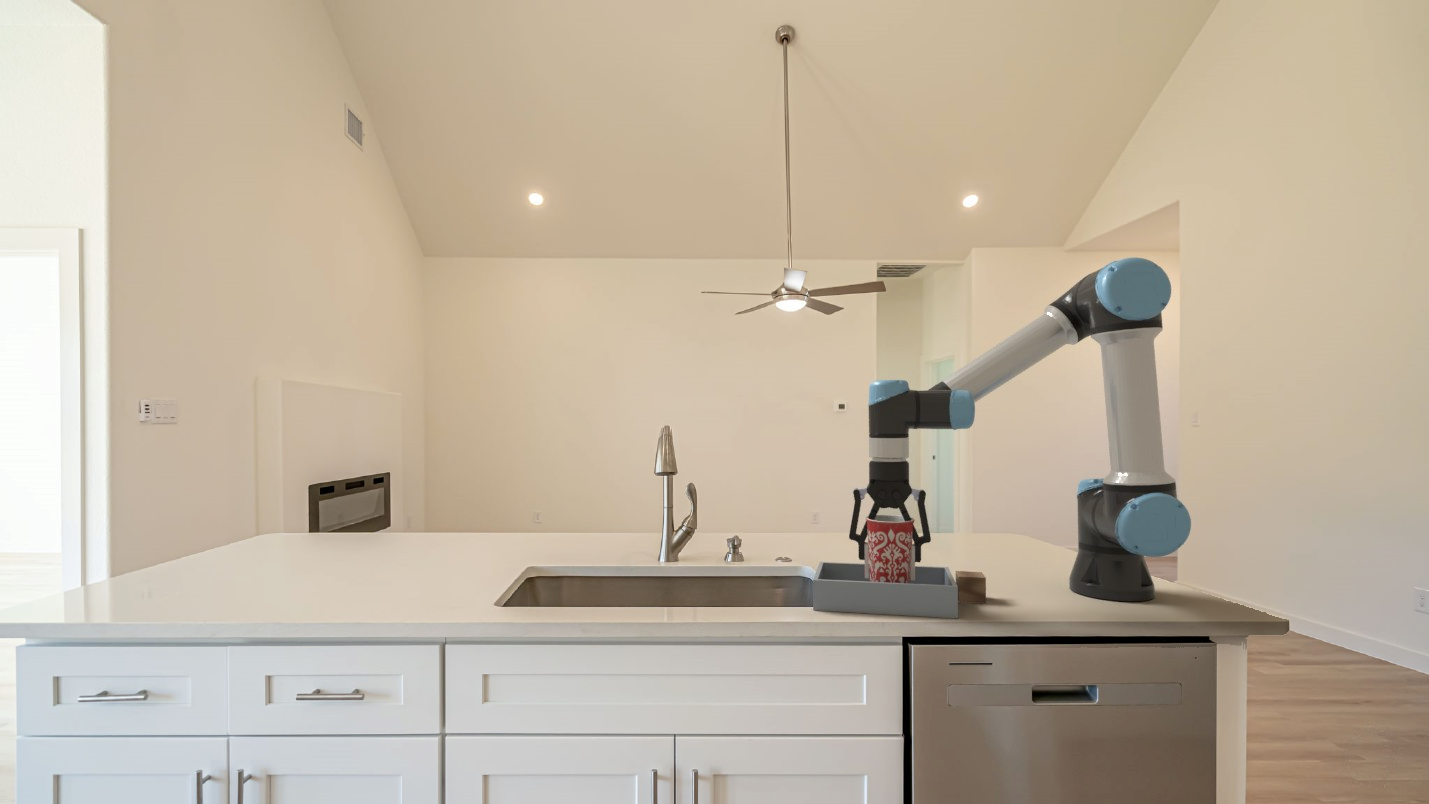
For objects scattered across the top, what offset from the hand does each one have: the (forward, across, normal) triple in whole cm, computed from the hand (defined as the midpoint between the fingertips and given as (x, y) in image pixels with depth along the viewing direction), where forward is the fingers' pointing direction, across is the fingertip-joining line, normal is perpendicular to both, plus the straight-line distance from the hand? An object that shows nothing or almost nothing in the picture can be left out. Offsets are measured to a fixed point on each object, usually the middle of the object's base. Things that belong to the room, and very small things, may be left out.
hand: (889, 577), depth 137 cm
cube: (+5, -16, -6) cm, 17 cm away
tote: (+5, +1, 0) cm, 5 cm away
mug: (+2, 0, 0) cm, 2 cm away
